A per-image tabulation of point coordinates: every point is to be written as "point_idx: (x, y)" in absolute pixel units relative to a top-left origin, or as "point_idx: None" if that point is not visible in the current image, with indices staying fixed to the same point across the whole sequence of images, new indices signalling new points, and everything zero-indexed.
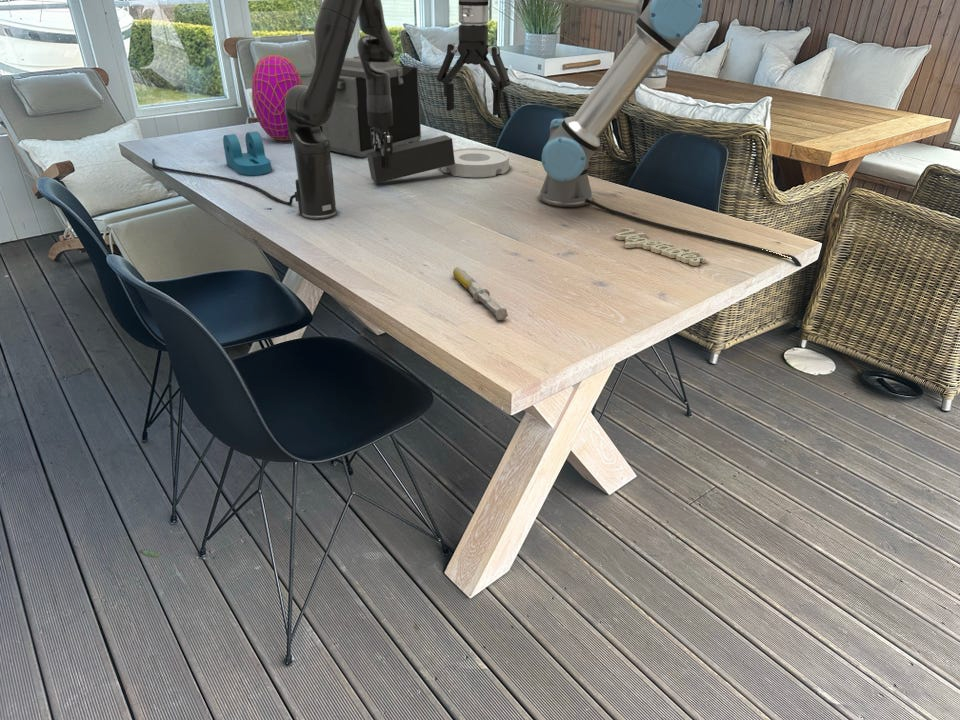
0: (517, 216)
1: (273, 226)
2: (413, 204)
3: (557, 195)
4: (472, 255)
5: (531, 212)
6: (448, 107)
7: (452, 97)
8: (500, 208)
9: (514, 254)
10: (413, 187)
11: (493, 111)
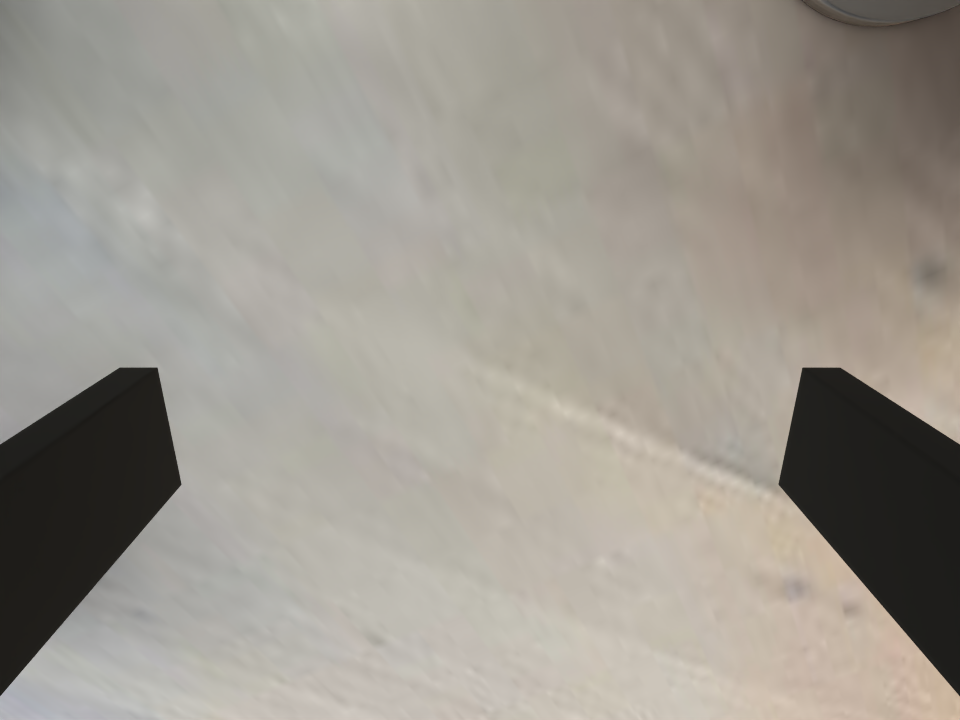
0: (711, 254)
1: (7, 688)
2: (227, 314)
3: (909, 6)
4: (674, 640)
5: (759, 171)
6: (150, 506)
7: (64, 485)
8: (604, 184)
9: (793, 590)
10: (38, 63)
11: (811, 513)
